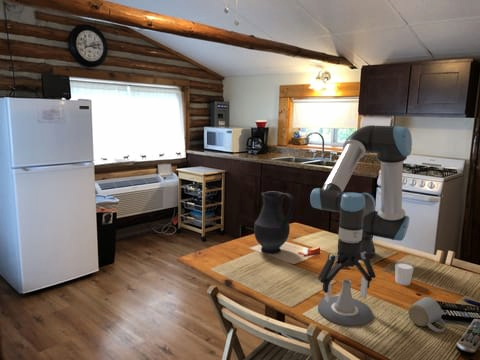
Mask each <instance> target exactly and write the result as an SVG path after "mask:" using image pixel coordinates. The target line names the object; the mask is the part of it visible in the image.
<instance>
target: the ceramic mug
mask: <svg viewBox="0 0 480 360" xmlns="http://www.w3.org/2000/svg"><path fill="white" fill-rule="evenodd" d="M407 313H408V317H409V319H410V320H411V322H412V323H414V324H415V325H416V326H418V327H428V328H429V329H431V330H432V331H433V332H435V333H443V332H444V331H445V330H446V329H447V326H446V322H445V321H444V319H442V316H443V311H442V307H441V306H440V304H439V303H438V302H437V300H435V299H434V298H432V297H429V296H426V297H423V298H421V299H419V300H418V301H416V302H414V303H412V304H411V305H410V306H409V308H408V312H407ZM437 321H438V323H439V324H440V325H441V327H442V328H437V327H435V326H434V325H433V323H435V322H437Z"/></svg>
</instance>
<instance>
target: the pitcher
mask: <svg viewBox="0 0 480 360" xmlns="http://www.w3.org/2000/svg"><path fill="white" fill-rule="evenodd" d="M260 195H261V198H262V203H263V205H262V207H261V210H260V213H259V215H258V217H257V219H256V220H255V221H254V227H253V231H254V232H253V233H254V238H255V239H256V242H257V243H258V245H260V247H261V248H260V251H261V252H262V253H264V254H267V255H268V254H269V255H276V254H279V253H281V251H282V250H281V247H282V246H283V245H284V244H285V243H286V242H287V240H288V238H289V236H290V228H291V227H290V223H289V222H290V220H291V218H292V215H293V213H294V211H295V207H296V206H295V205H296V204H295V203H296V202H295V198H294V197H293V195H292V194H290V193H287V192H281V191H277V190H275V191H274V190H272V191H271V190H270V191H266V192H265V191H264V192H260ZM285 197H287V198H288V199H289V209H288V212H287V213H286V215H284V211H283V206H282V205H283V202H284V199H285Z"/></svg>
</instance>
